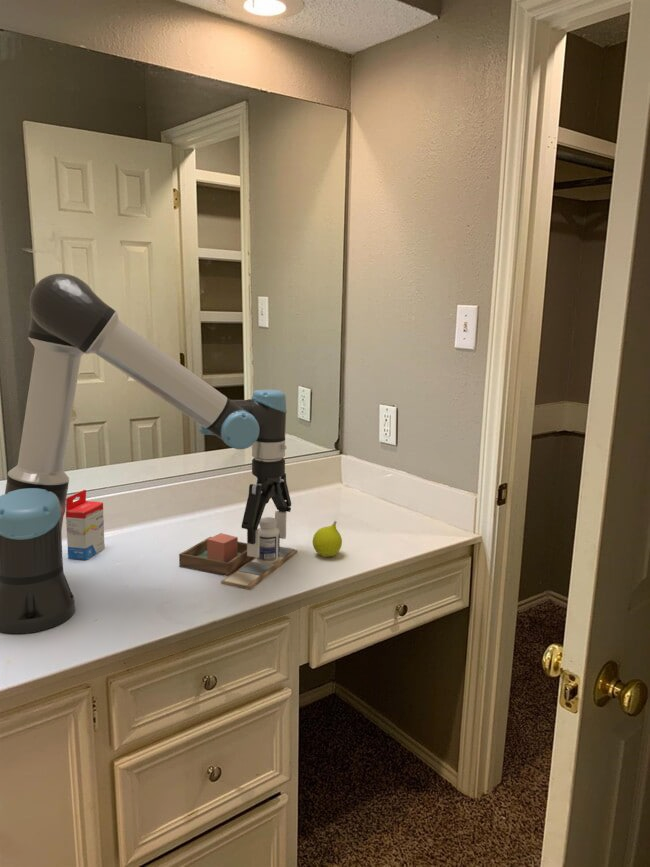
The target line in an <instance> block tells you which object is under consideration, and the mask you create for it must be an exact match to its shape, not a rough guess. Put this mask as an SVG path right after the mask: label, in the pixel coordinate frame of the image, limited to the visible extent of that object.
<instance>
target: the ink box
mask: <svg viewBox="0 0 650 867" xmlns="http://www.w3.org/2000/svg"><path fill="white" fill-rule="evenodd" d="M76 498H78V499H77V500H75V499H76ZM74 500H75V501H74ZM104 521H105V520H104V502H100V501H94V500H93V501H92V500H91V501H90V500H88V501H87V490H86V489H83V490H81V491H78V492H76V493H74V494H73V495H70V496H68V497H66V508H65V523H66V524H65V525H66V541H67V559H72V560H81V561H83V560H84V561H88V560H89V559H90V558H92V557H93V556H95V555H96V554H98V553H100V552H101V551H103V550H105V548H106V546H105V526H104V524H105V523H104Z"/></svg>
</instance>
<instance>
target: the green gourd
mask: <svg viewBox="0 0 650 867" xmlns="http://www.w3.org/2000/svg"><path fill="white" fill-rule="evenodd" d="M337 520H338V519H336V520H334V521H333V523H332V524H331V525H329V526H324V527H321V528H319V529H318V530H316V532H315V533H314V534H313V538H312V547H313V549H314V550H315V552H316V553H317V554H318V555H319V556H322V557H328V558H329V557H333V556H335V555H337V554H338V553H339V551H340V550H341V549H342V545H343V538H342V536H341V534H340V532H339V531H338V529H337Z"/></svg>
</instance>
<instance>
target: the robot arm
mask: <svg viewBox="0 0 650 867" xmlns="http://www.w3.org/2000/svg"><path fill="white" fill-rule="evenodd" d="M29 296H30V297H29V310H30V313H31V316H30V323H29V330H28V334H27V335H28V338H27V339H28V340H29V342H30V343H31V345H33V346H34V354H33V360H32V366H31V373H30V380H29V381H30V382H29V387H28V388H29V389H28V394H27V399H26V406H25V414H24V419H23V427H22V433H21V440H20V441H21V442H20V446H19V452H18V453H19V454H18V459H17V460H18V461H17V465H16V466H14V467H13V468H11V469H10V470H9V471H8V472H7V478H6V484H5V491H4V494H2V495H0V632H1V633H5V634H29V633H34V632H35V633H36V632H40V631H45V630H48V629H51V628H54V627H56V626H59V625H60V624H63V623H65V622H66V621H67V620H69V619H70V618H71V617H72V616H73V615H74V613H75V611H76V606H75V605H76V604H75V603H76V600H75V596H74V594H73V592H72V591H71V587H70V584H69V583H68V580H67V578H66V575H65V573H64V562H63V560H64V559H63V557H64V556H63V541H62V540H63V536H62V534H63V533H62V529H63V523H64V515H65V514H66V498H68V497H67V495H68V490H69V483H70V477H69V475H68V474H67V473H66V472H65V471H64V465H65V459H66V453H67V452H66V451H67V446H68V441H69V440H68V439H69V435H70V434H69V433H70V428H71V422H72V414H73V408H74V403H75V402H74V401H75V398H76V397H75V396H76V389H77V384H78V377H79V371H80V365H81V358H82V356H83V355H84V354H85V355H89V354H96V355H97V356H98V357H100V358H101V359H103V360H104V361H105V362H107V363H109V364H111V366H113V367H115V368H116V369H118V371H121V372H122V373H123V374H125V375H126V376H128V377H129V378H131V379H133V381H135V382H137V383H138V384H140V385H141V386H143V387H144V388H146V389H147V390H149V391H150V392H152V393H153V394H154V395H156V396H157V397H159V398H160V399H162V400H163V401H164V402H167V403H168V404H169V405H170V406H172V407H174V408H175V409H176V410H178V411H180V412H181V413H182V414H184V415H185V416H187V417H188V418H190V419H191V420H193V421H194V422H196V423H197V425H198V426H197V427H198V430H199V433H201V435H204V436H205V435H209V436H210V435H211V436H216V437H218V439H221V440H222V441H223V443H224V444H225V445H226V446H228V447H230V448H233V449H235V450H245V449H248V448H250V447H251V456H252V457H253V458H252V460H251V475H252V476H255V477H256V479H257V480H256V484H255V483H254V484H253V483H250V484H249V487H248V496H247V500H246V505H245V509H244V513H243V517H242V522H241V529H245V530H246V532H247V534H246V537H247V538H246V543H247V556H251V557H256V558H258V557H259V544H260V529H258V528H259V526H260V525H259V522H260V520H261V518H263V517H262V516H263V514H264V510H265V507H266V505H267V504H268V503H269V502H270V500H272V502H273V503H274V506H275V508H276V511H275V512H274V518H275V519H276V520H277V526H276V527H277V528H278V529H279V531H280V539H282V540H286V539H287V515H288V514H287V513H288V512H289V513H291V510H292V501H291V500H292V499H291V496H290V491H289V488H288V483H287V473H286V460H285V458H284V457H285V456H286V450H287V445H286V426H287V423H286V422H287V399H286V394H285V392H284V391H282V390H278V389H266V388H265V389H256V390H254V391H253V392H252V397H251V398H250V399H230V398H228V397H227V396H226V395H225V394H223V393H221V392H220V391H219V390H217V389H216V388H215V387H213V386H211V385H210V383H208V382H206V381H205V380H204V379H202V378H201V377H199V376H198V375H196V374H195V373H193V372H192V371H191V370H190V369H188V368H187V367H185V366H184V365H182V364H181V363H179V361H177V360H176V359H174V358H173V357H171V356H170V355H169V354H168V353H166V352H164V351H163V350H162V349H160V348H158V346H156V345H154V344H153V343H152V342H151V341H149V340H148V339H146V338H145V337H143V336H142V335H140V334H139V333H138V332H136V331H135V330H134V329H132V328H131V327H129V326H128V325H127V324H125V323H124V322H122V320H120V319H119V314H118V312H117V311H116V310H115V309H114V308H112V307H111V306H110V305H108V304H107V303H106V302H104V301H103V300H102V298H100V297H99V296H98V295H97V294H96V293H95V292H94V291H93V289H92V287H90V286H89V284H87V283H86V282H85V281H83V279H81V278H79V277H77V276H75V275H72V274H68V273H53V274H49V275H46V276H44V278H41V279H40V280H39V281H38V282H37V283H36V284H35V285H34V287H33V288H32V290H31V292H30V295H29Z"/></svg>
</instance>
